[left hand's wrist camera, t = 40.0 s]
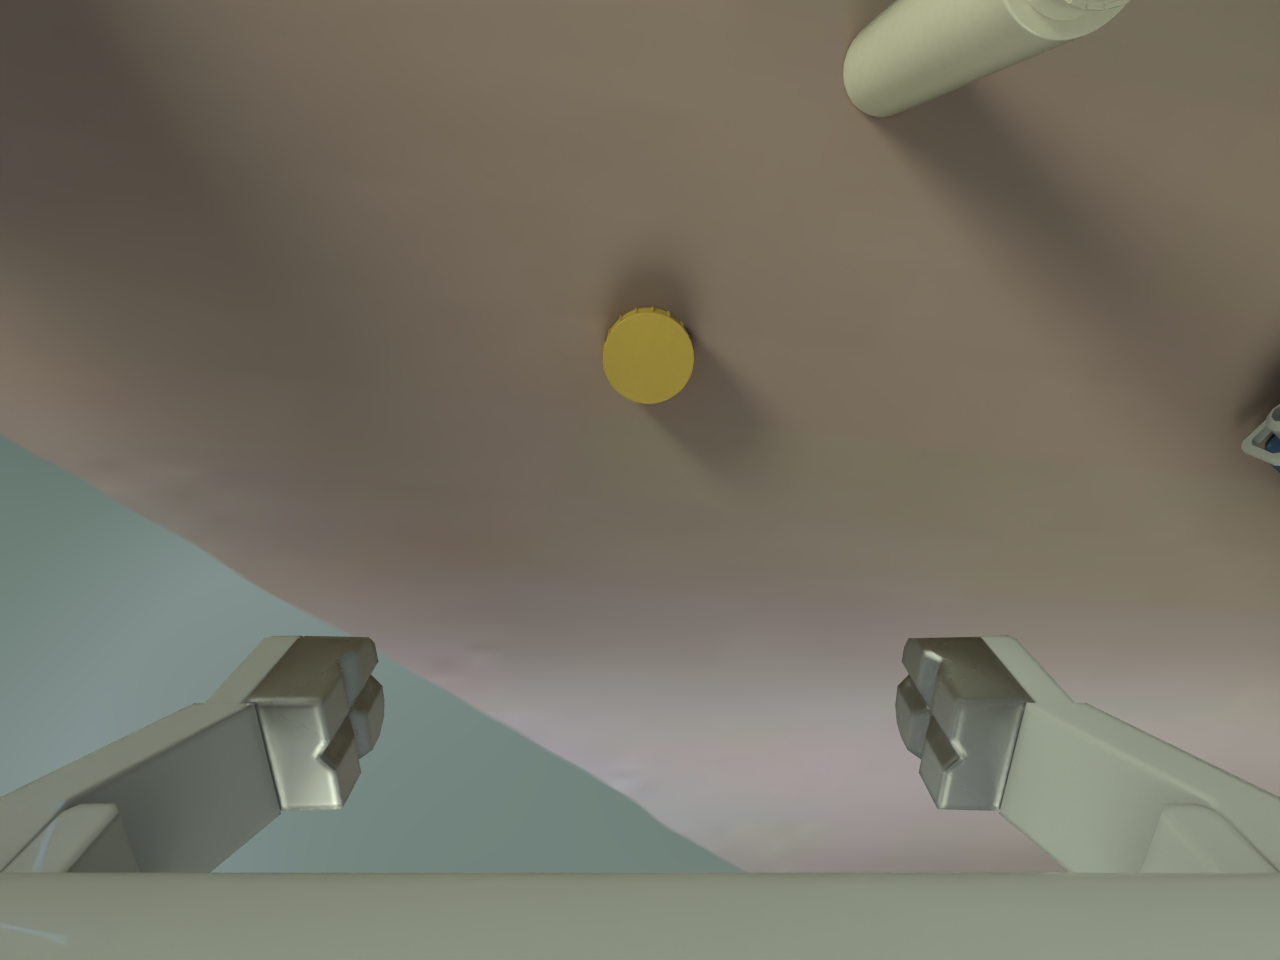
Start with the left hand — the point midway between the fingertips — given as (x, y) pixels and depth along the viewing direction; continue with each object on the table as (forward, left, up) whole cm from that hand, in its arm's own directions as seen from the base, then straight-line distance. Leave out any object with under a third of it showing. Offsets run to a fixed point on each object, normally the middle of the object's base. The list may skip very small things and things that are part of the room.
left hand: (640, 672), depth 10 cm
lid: (0, 0, -26) cm, 26 cm away
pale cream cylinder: (-3, +17, -28) cm, 33 cm away
